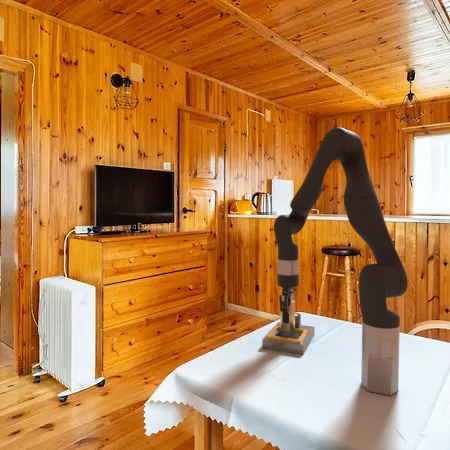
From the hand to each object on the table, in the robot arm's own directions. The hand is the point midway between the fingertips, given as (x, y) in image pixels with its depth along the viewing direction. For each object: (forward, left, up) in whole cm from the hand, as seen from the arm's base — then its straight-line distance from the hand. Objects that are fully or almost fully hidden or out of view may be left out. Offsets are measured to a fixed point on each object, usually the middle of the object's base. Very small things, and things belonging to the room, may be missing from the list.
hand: (287, 320), depth 128 cm
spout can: (0, 0, -3) cm, 3 cm away
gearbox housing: (+3, 0, -8) cm, 9 cm away
